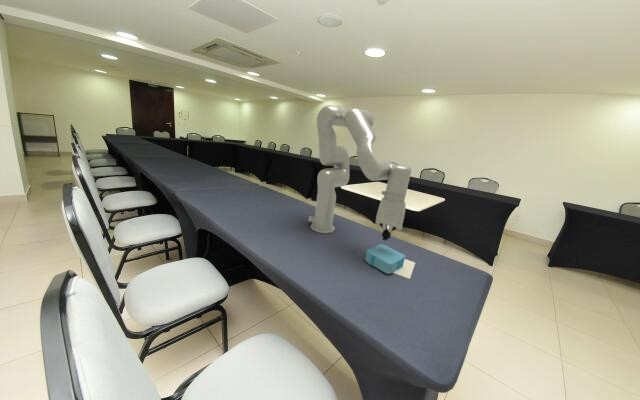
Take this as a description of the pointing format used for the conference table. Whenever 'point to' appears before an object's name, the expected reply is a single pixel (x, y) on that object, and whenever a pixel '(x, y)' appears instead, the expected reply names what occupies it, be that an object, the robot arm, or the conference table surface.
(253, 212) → the conference table surface
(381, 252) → the light blue flat box
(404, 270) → the beige mat
